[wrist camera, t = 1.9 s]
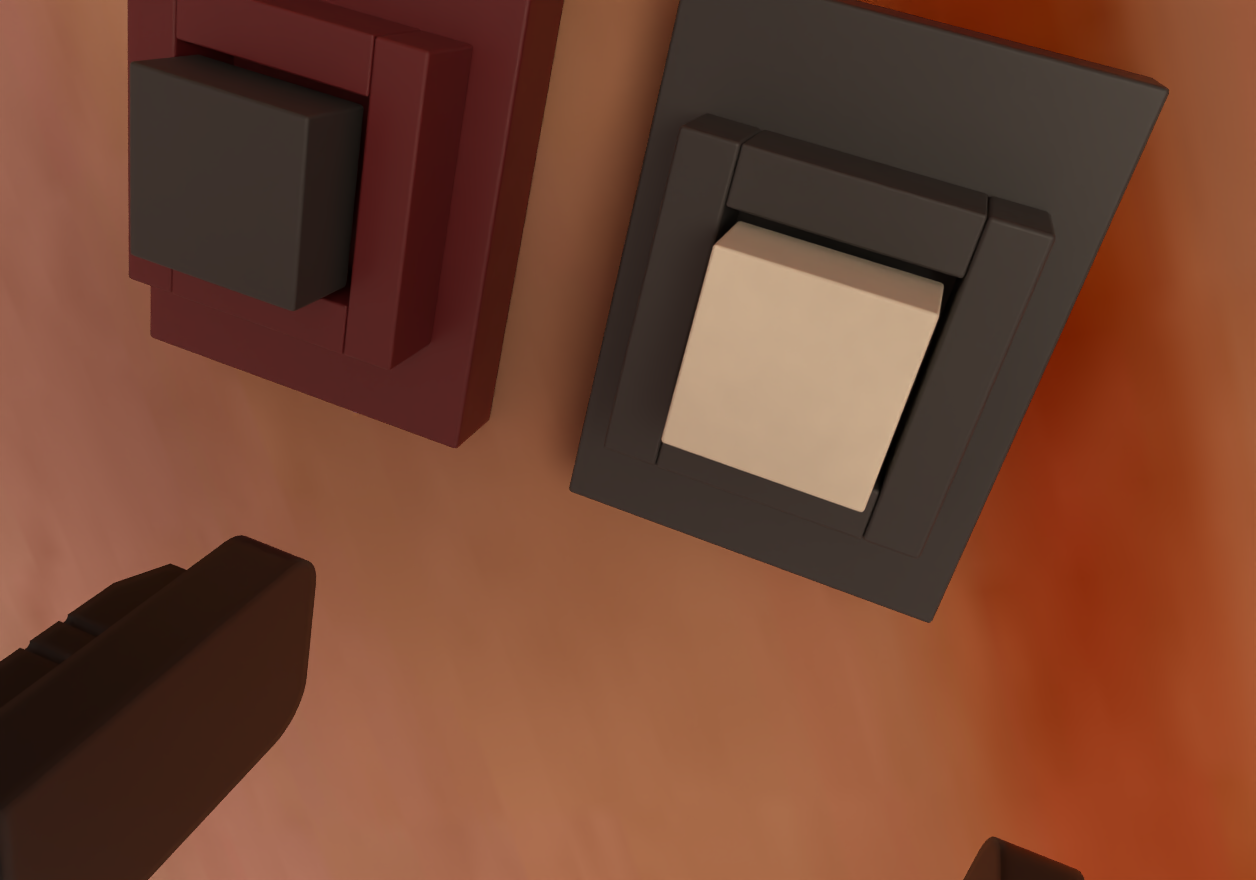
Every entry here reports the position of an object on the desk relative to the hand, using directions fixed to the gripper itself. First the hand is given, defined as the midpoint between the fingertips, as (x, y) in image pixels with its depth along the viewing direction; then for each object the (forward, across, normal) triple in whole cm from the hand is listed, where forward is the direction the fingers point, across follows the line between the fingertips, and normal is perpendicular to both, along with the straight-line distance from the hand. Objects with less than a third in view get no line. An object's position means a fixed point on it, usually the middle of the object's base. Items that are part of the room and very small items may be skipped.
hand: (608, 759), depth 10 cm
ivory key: (+12, 0, 0) cm, 12 cm away
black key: (+12, +12, 0) cm, 17 cm away
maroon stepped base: (+16, +12, 0) cm, 20 cm away
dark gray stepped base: (+16, 0, 0) cm, 16 cm away
